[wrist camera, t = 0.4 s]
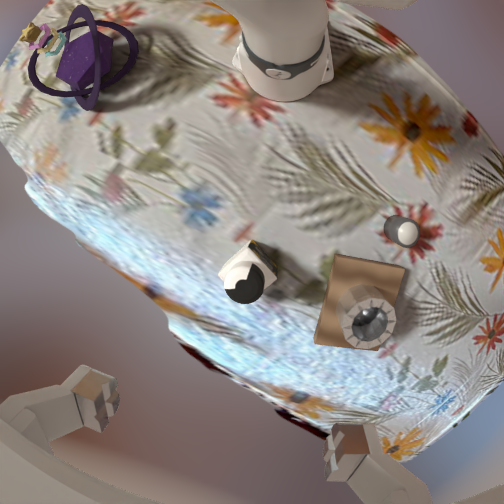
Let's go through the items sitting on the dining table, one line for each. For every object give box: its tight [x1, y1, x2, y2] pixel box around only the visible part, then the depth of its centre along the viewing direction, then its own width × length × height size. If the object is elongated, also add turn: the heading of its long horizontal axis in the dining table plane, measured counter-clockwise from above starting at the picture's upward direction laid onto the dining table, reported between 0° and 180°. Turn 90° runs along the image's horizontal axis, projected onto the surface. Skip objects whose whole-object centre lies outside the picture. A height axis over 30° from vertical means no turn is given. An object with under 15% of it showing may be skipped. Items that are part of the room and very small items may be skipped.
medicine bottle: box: [218, 240, 277, 304], centre depth 49 cm, size 7×7×12 cm
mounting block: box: [314, 254, 405, 351], centre depth 54 cm, size 18×14×2 cm
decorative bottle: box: [20, 4, 139, 111], centre depth 36 cm, size 22×21×25 cm
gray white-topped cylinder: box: [384, 215, 420, 248], centre depth 48 cm, size 5×5×6 cm
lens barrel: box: [336, 284, 396, 349], centre depth 49 cm, size 10×10×7 cm
